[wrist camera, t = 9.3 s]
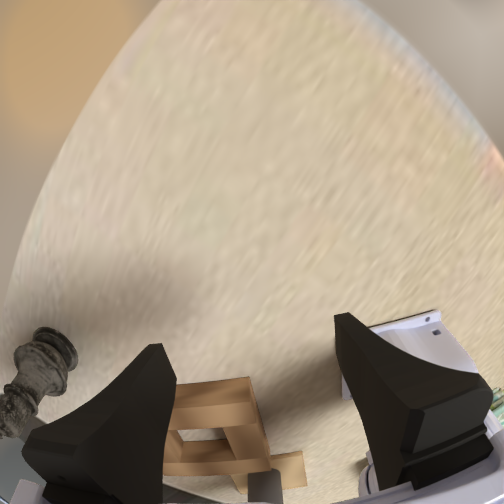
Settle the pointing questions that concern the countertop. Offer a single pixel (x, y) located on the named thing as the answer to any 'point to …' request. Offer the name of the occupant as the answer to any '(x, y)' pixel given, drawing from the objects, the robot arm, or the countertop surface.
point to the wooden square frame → (212, 416)
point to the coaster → (288, 467)
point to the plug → (265, 487)
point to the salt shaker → (36, 378)
